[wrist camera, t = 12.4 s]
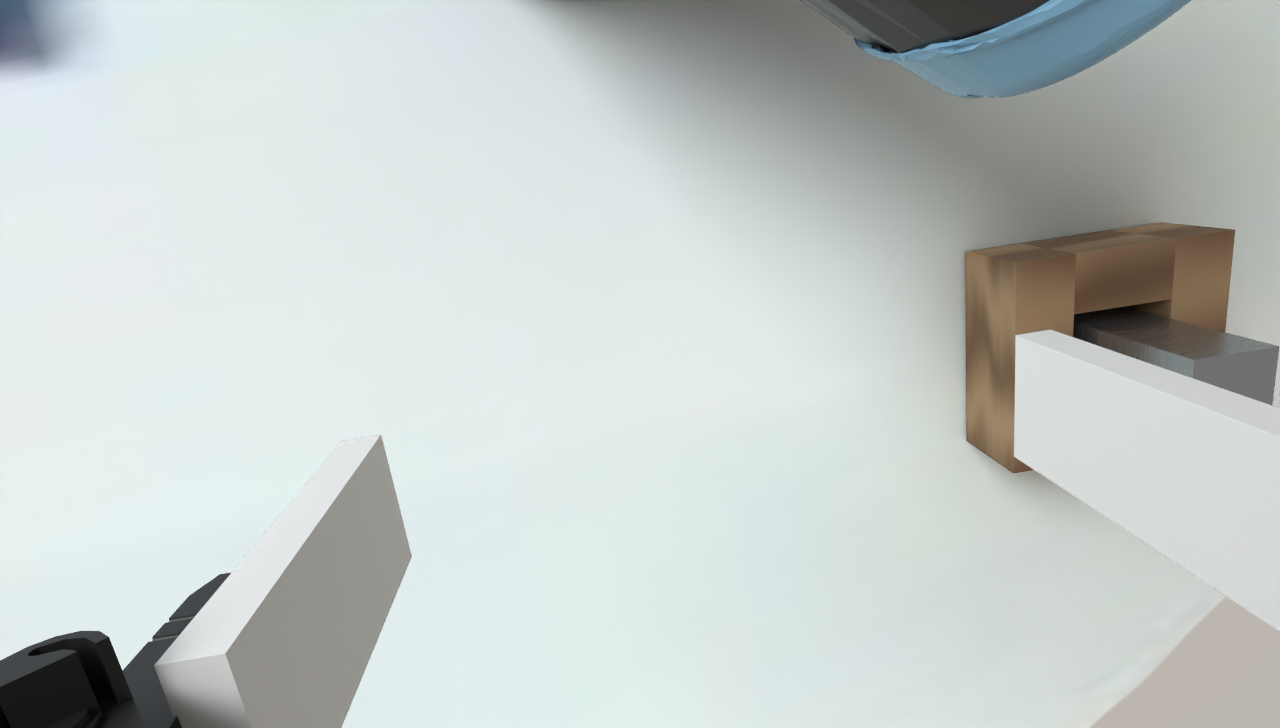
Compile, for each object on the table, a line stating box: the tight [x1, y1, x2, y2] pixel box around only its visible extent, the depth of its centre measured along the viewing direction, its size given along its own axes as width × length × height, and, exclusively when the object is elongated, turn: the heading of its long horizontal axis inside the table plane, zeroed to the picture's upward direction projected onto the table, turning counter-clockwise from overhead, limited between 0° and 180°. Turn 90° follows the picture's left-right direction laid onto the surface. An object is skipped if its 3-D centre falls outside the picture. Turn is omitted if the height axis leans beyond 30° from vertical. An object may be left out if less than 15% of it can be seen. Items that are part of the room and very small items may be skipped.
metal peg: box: [1073, 307, 1279, 405], centre depth 38 cm, size 4×4×12 cm
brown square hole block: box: [965, 223, 1235, 473], centre depth 41 cm, size 12×12×5 cm
